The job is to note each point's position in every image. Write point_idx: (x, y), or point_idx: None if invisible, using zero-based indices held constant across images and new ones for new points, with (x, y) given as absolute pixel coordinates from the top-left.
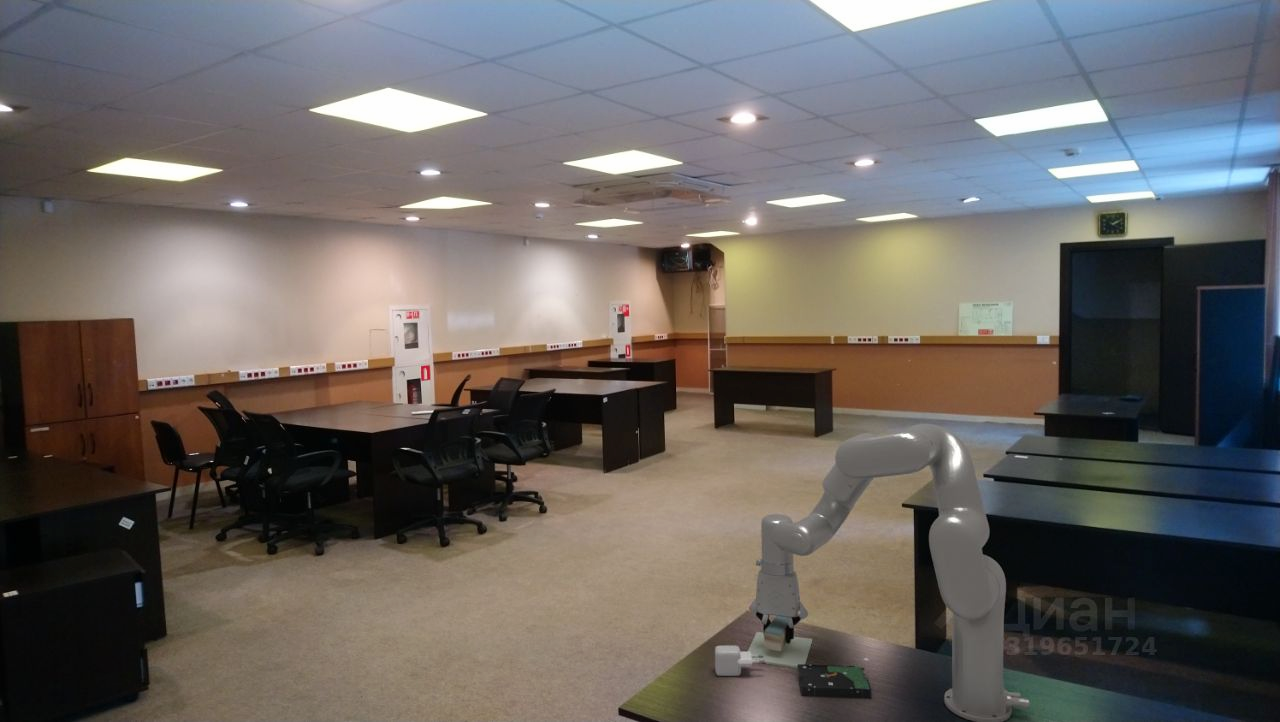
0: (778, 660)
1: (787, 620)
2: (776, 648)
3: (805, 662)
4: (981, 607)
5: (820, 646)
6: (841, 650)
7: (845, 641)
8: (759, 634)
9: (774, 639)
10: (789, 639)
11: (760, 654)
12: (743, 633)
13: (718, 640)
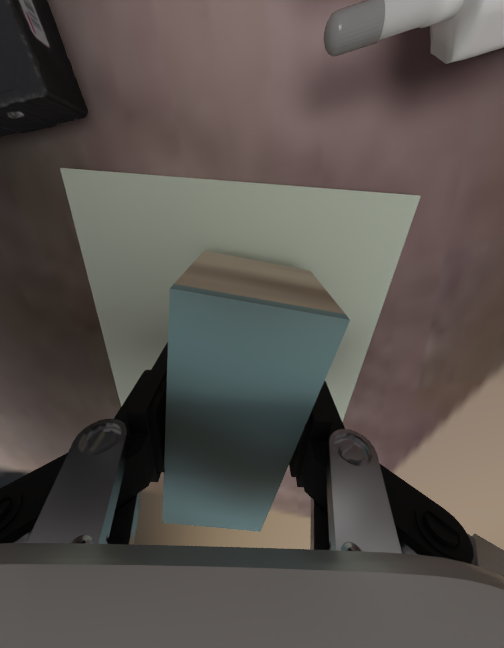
0: (221, 222)
1: (110, 488)
2: (230, 258)
3: (82, 242)
4: None
5: (92, 402)
6: (8, 391)
7: (29, 444)
8: None
9: (241, 279)
10: (160, 355)
11: (357, 26)
12: (381, 430)
13: (495, 369)
